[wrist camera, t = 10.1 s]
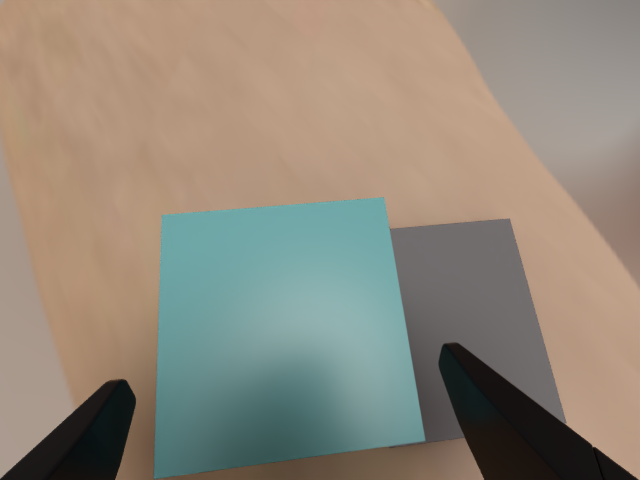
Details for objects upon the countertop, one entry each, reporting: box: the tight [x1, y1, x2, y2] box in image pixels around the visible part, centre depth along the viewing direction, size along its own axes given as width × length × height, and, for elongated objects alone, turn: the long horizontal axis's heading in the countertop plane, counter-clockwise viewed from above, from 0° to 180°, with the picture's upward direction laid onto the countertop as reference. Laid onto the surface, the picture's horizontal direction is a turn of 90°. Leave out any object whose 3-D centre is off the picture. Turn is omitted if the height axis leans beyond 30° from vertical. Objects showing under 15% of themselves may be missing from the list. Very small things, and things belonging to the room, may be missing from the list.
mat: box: [389, 219, 566, 448], centre depth 18 cm, size 12×10×1 cm
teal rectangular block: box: [154, 197, 425, 479], centre depth 14 cm, size 7×7×9 cm
